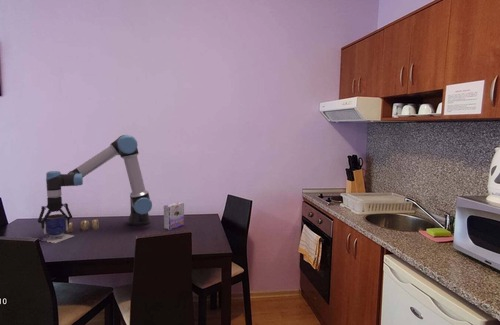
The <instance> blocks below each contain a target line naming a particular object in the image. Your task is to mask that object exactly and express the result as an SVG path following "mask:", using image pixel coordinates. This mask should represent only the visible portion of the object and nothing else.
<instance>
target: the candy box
mask: <svg viewBox="0 0 500 325" xmlns="http://www.w3.org/2000/svg"><path fill="white" fill-rule="evenodd" d="M183 226H185V202H181V201H177V202H173V203H170V204H163V228H164V229H165V230H168V231H171V230H174V229H177V228H180V227H183Z"/></svg>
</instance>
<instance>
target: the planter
mask: <svg viewBox="0 0 500 325" xmlns="http://www.w3.org/2000/svg"><path fill="white" fill-rule="evenodd" d="M45 223H46V234H47V235H48V236H56V235H60V234H65V232H66V216H64V215H63V214H62V213H56V214H50V215H49V216H48V218H46V221H45Z"/></svg>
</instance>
